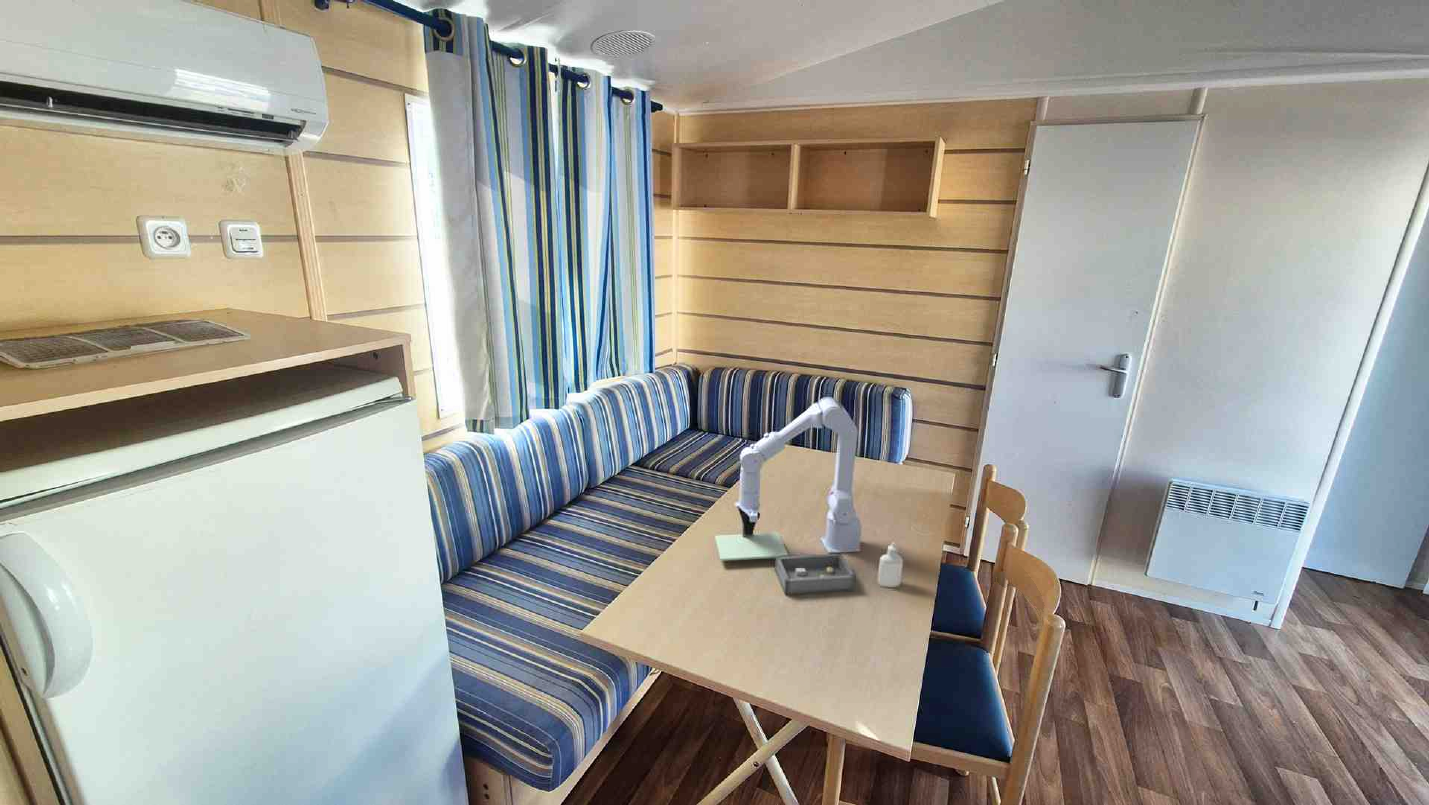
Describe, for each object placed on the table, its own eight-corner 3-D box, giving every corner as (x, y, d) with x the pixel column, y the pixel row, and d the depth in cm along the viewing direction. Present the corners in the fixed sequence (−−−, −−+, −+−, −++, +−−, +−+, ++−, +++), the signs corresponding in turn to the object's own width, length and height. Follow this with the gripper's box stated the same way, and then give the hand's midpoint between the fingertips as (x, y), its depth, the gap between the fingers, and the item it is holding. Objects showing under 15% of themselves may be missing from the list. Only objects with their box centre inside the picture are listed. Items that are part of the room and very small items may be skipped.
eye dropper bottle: (898, 591, 146) (903, 549, 143) (875, 585, 148) (880, 544, 145) (901, 582, 150) (906, 541, 146) (879, 576, 152) (883, 536, 149)
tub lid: (778, 536, 168) (779, 520, 166) (787, 558, 157) (788, 542, 155) (715, 539, 165) (715, 523, 164) (720, 562, 155) (720, 546, 153)
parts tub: (839, 566, 156) (840, 553, 155) (854, 590, 146) (855, 577, 145) (775, 570, 154) (775, 557, 153) (785, 595, 144) (785, 581, 142)
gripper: (731, 479, 168) (730, 520, 171) (740, 501, 154) (738, 546, 158) (755, 478, 168) (753, 519, 172) (765, 500, 155) (763, 545, 159)
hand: (748, 532), depth 165 cm, fingers closed on tub lid
